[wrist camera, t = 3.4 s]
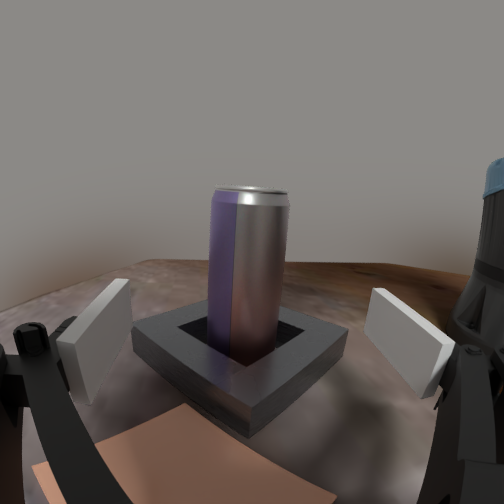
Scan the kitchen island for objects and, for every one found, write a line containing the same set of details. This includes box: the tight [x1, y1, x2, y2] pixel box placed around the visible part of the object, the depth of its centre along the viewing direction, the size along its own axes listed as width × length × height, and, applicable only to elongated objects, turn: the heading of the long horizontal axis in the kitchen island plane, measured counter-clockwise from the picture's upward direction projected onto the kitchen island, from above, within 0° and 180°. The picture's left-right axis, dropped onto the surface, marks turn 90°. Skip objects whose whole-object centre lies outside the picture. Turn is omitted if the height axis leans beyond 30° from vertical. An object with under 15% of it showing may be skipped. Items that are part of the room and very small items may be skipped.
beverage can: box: [207, 185, 290, 367], centre depth 24 cm, size 6×6×15 cm
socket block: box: [131, 299, 349, 439], centre depth 26 cm, size 14×14×3 cm
